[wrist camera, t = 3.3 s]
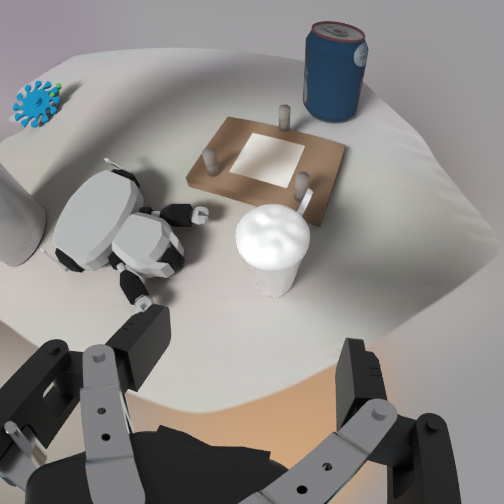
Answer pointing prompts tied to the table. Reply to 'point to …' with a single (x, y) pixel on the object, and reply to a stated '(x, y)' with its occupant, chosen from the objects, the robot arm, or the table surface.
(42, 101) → the gear
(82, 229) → the robot toy
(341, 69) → the soda can
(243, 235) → the milkshake
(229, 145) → the pin plate
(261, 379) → the table surface
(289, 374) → the table surface
